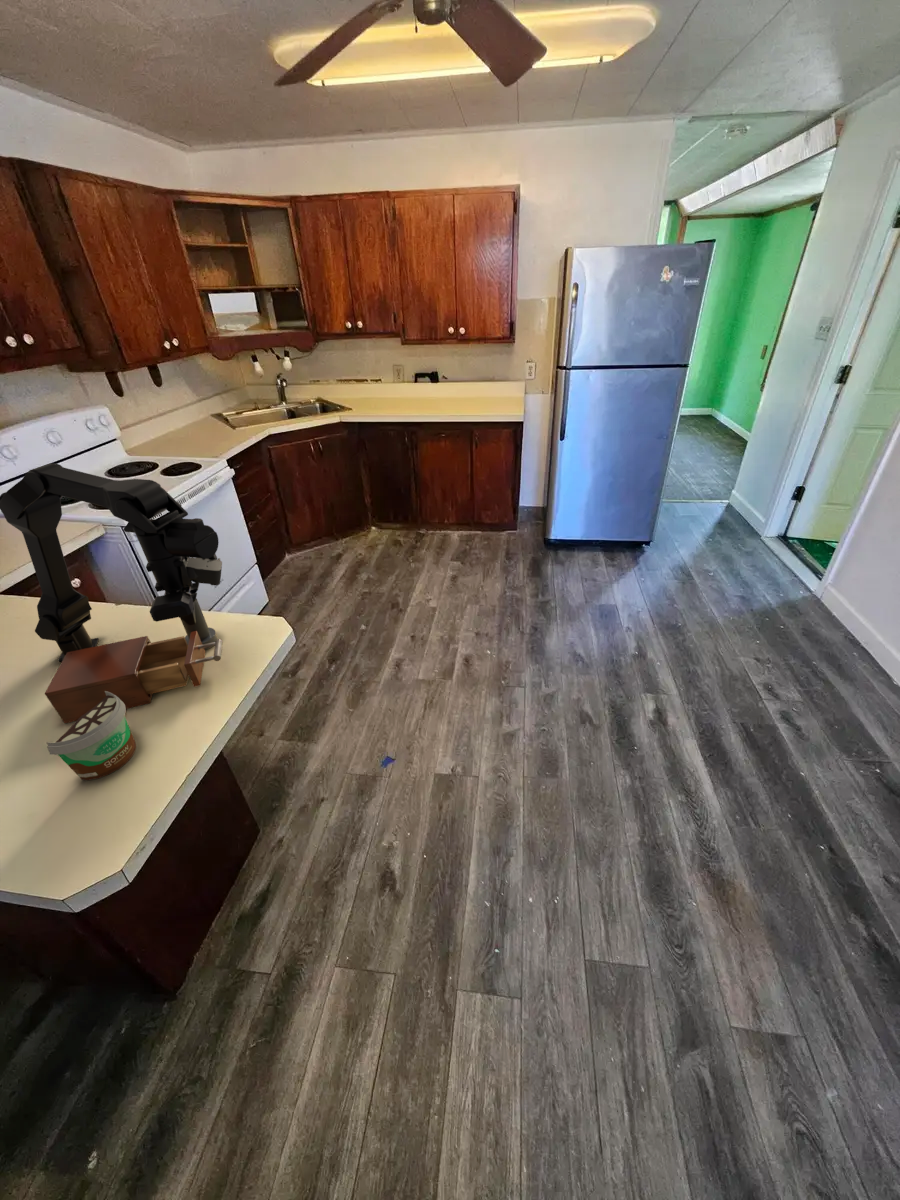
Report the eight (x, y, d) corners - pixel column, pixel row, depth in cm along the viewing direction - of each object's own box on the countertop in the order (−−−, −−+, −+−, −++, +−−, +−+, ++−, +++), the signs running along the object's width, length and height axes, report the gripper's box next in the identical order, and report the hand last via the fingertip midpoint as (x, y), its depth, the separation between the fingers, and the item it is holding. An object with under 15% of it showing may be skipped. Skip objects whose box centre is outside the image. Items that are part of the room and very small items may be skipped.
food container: (106, 792, 77) (77, 750, 71) (74, 787, 78) (43, 745, 72) (160, 733, 87) (137, 692, 81) (130, 729, 88) (107, 688, 83)
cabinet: (161, 663, 104) (147, 635, 100) (150, 703, 94) (134, 673, 90) (84, 680, 100) (66, 652, 96) (64, 723, 90) (44, 693, 86)
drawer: (228, 647, 106) (220, 625, 103) (225, 679, 97) (216, 657, 94) (137, 667, 102) (125, 645, 99) (125, 703, 93) (112, 680, 89)
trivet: (188, 638, 111) (185, 631, 110) (219, 631, 113) (216, 624, 112) (185, 654, 106) (181, 647, 105) (217, 647, 108) (214, 640, 107)
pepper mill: (190, 632, 110) (174, 595, 104) (210, 628, 111) (196, 591, 105) (187, 643, 106) (171, 605, 101) (209, 639, 107) (194, 601, 102)
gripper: (207, 567, 81) (234, 641, 89) (215, 525, 96) (237, 592, 104) (133, 580, 78) (168, 655, 87) (154, 535, 93) (182, 603, 102)
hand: (192, 623), depth 95 cm, fingers closed
